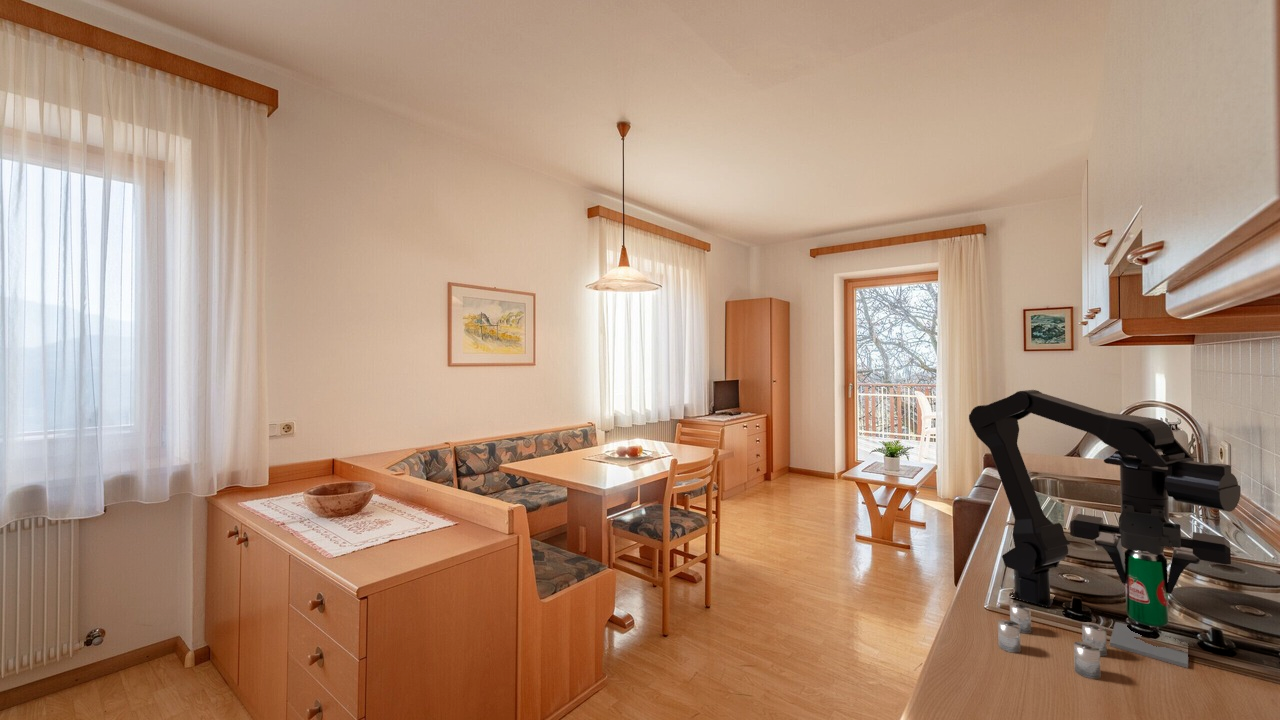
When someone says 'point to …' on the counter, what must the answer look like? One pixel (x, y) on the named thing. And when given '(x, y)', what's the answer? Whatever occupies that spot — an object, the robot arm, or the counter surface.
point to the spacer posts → (1083, 651)
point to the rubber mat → (1146, 646)
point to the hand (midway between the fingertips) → (1146, 587)
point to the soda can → (1146, 587)
